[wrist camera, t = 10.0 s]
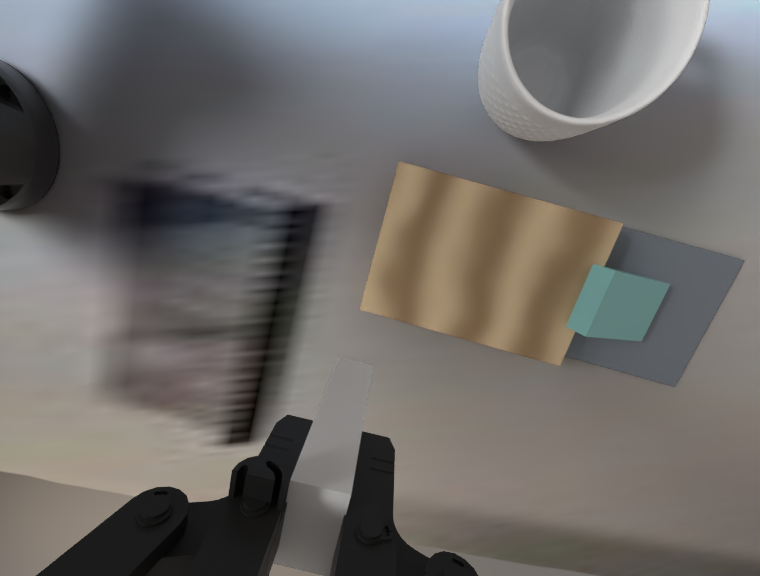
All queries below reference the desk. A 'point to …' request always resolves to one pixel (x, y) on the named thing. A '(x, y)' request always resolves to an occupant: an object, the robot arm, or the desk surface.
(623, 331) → the teal rectangular block
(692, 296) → the mat
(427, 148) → the desk surface
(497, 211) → the board
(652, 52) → the mug
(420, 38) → the desk surface
